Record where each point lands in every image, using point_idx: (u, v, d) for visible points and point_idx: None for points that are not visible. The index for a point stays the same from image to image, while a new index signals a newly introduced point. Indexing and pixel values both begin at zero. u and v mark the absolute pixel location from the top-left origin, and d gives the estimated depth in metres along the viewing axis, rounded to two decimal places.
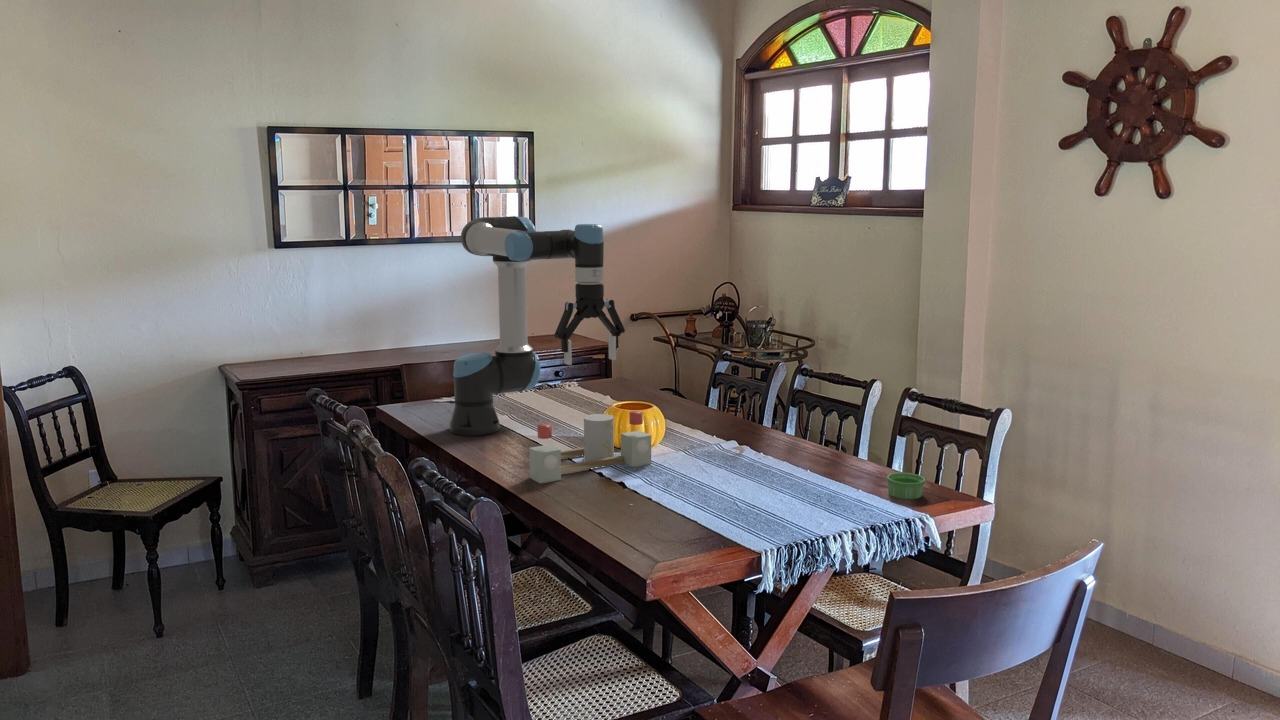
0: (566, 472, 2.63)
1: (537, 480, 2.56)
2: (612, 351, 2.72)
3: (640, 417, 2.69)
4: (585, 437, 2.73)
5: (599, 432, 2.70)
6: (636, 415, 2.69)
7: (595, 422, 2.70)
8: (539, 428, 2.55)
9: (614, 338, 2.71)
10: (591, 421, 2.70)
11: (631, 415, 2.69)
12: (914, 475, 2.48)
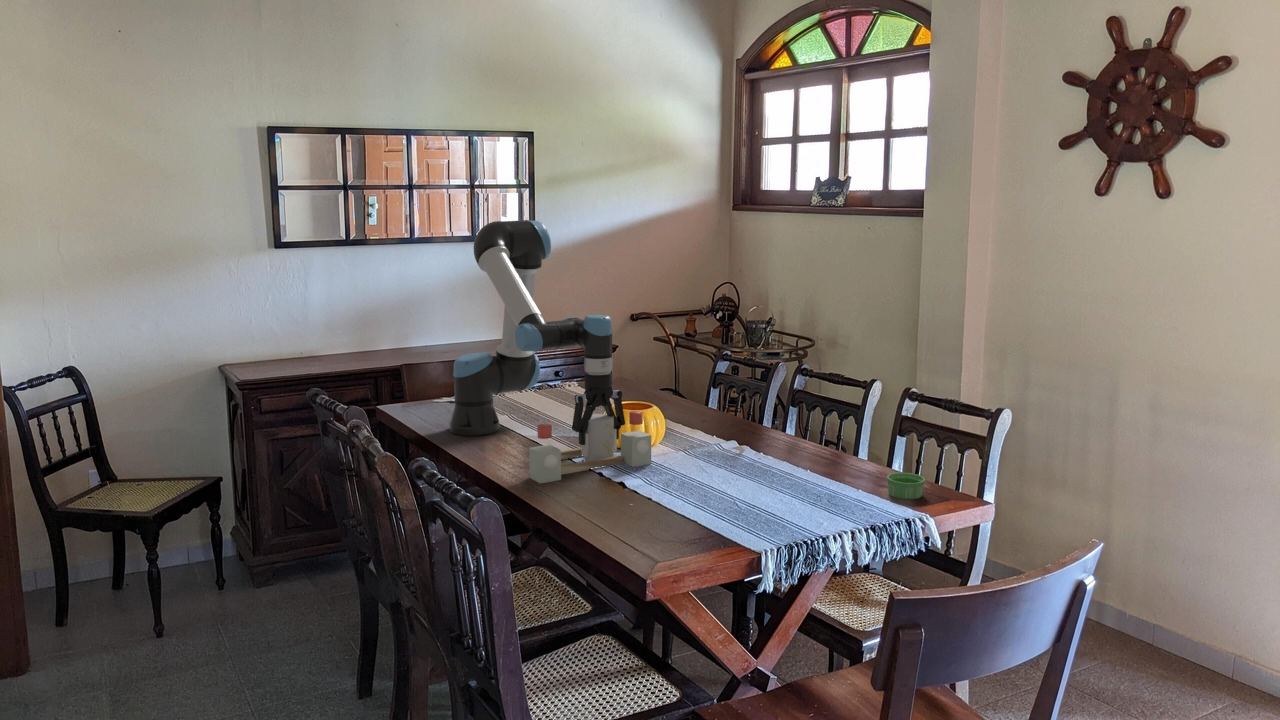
0: (566, 472, 2.63)
1: (537, 480, 2.56)
2: None
3: (640, 417, 2.69)
4: None
5: (599, 432, 2.70)
6: (636, 415, 2.69)
7: (595, 422, 2.70)
8: (539, 428, 2.55)
9: (615, 431, 2.76)
10: (591, 421, 2.70)
11: (631, 415, 2.69)
12: (914, 475, 2.48)
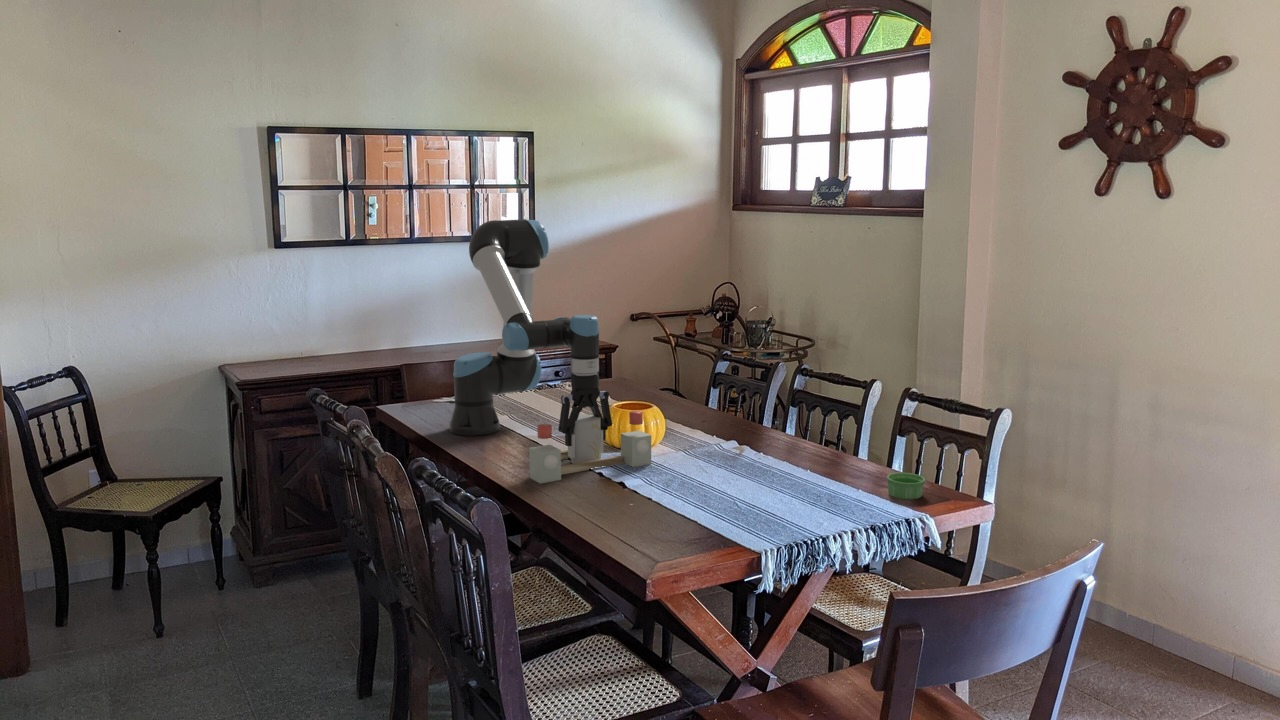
0: (566, 472, 2.63)
1: (537, 480, 2.56)
2: None
3: (640, 417, 2.69)
4: None
5: (586, 433, 2.68)
6: (636, 415, 2.69)
7: (582, 423, 2.68)
8: (539, 428, 2.55)
9: (601, 432, 2.74)
10: (578, 422, 2.68)
11: (631, 415, 2.69)
12: (914, 475, 2.48)
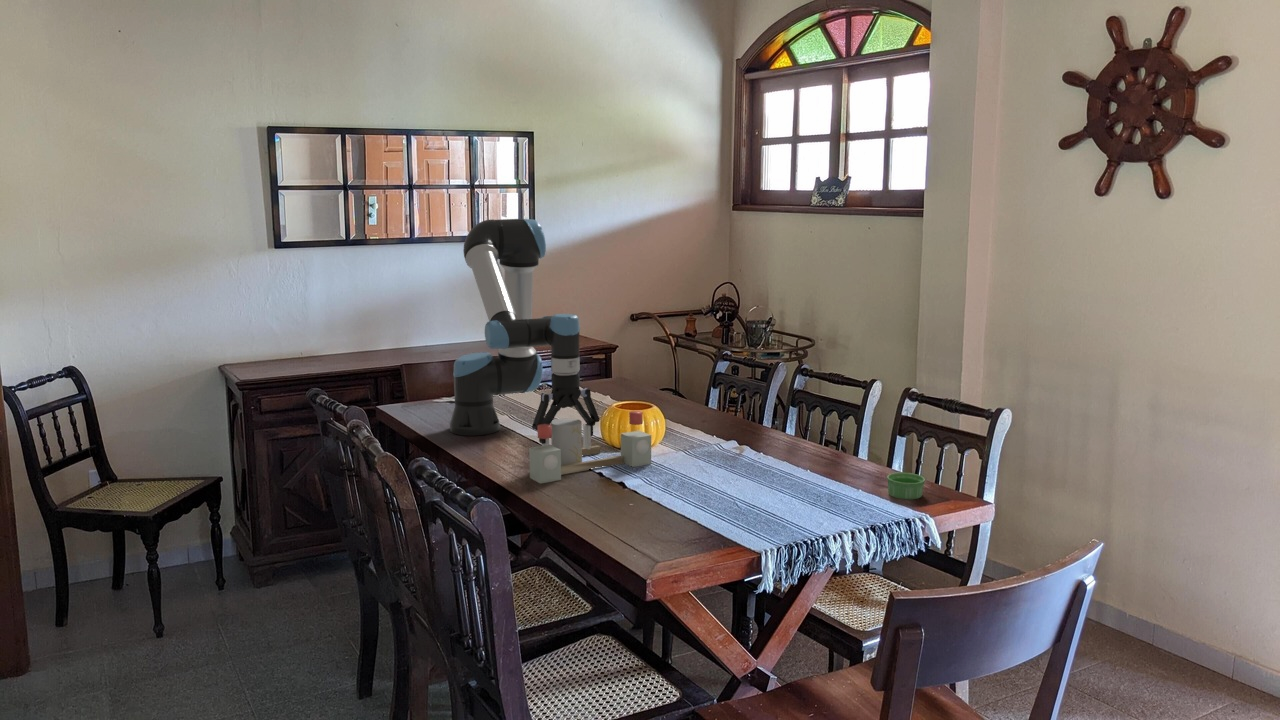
0: (566, 472, 2.63)
1: (537, 480, 2.56)
2: (587, 440, 2.72)
3: (640, 417, 2.69)
4: (552, 442, 2.68)
5: (566, 437, 2.65)
6: (636, 415, 2.69)
7: (562, 427, 2.65)
8: (539, 428, 2.55)
9: (589, 428, 2.71)
10: (558, 426, 2.65)
11: (631, 415, 2.69)
12: (914, 475, 2.48)
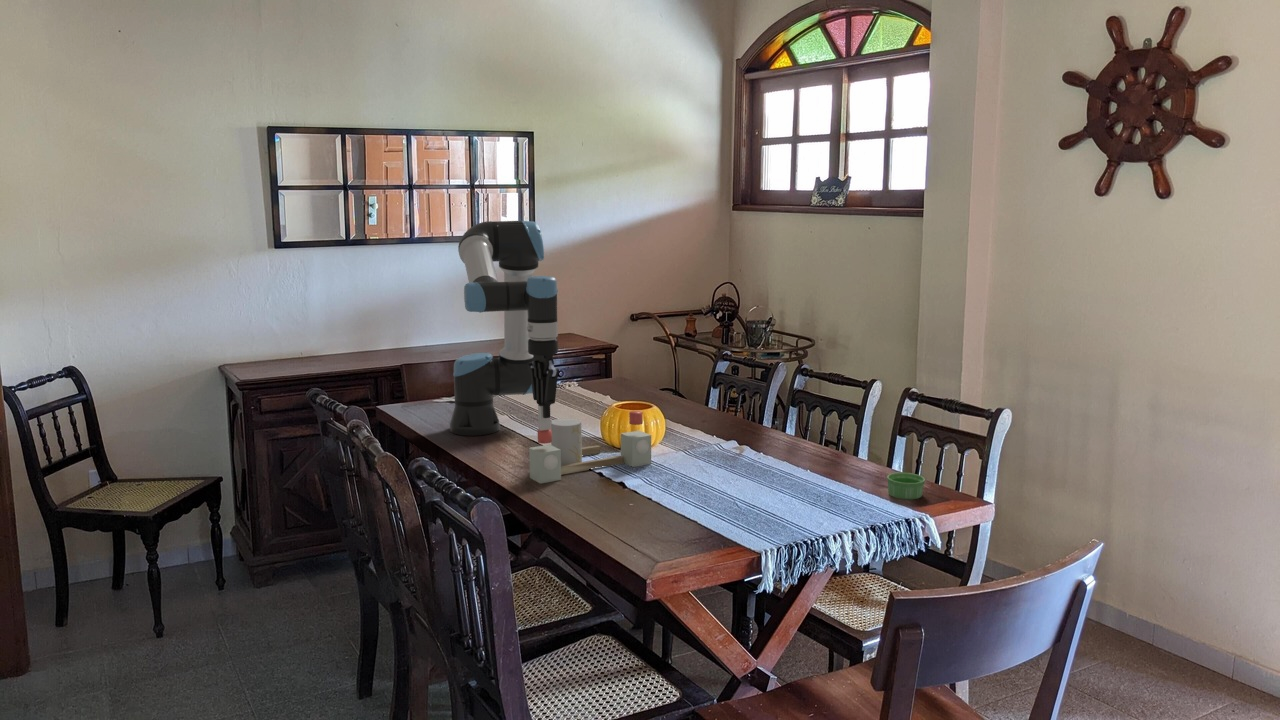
0: (566, 472, 2.63)
1: (537, 480, 2.56)
2: None
3: (640, 417, 2.69)
4: (552, 442, 2.68)
5: (566, 437, 2.65)
6: (636, 415, 2.69)
7: (562, 427, 2.65)
8: (539, 433, 2.55)
9: (539, 407, 2.54)
10: (558, 426, 2.65)
11: (631, 415, 2.69)
12: (914, 475, 2.48)
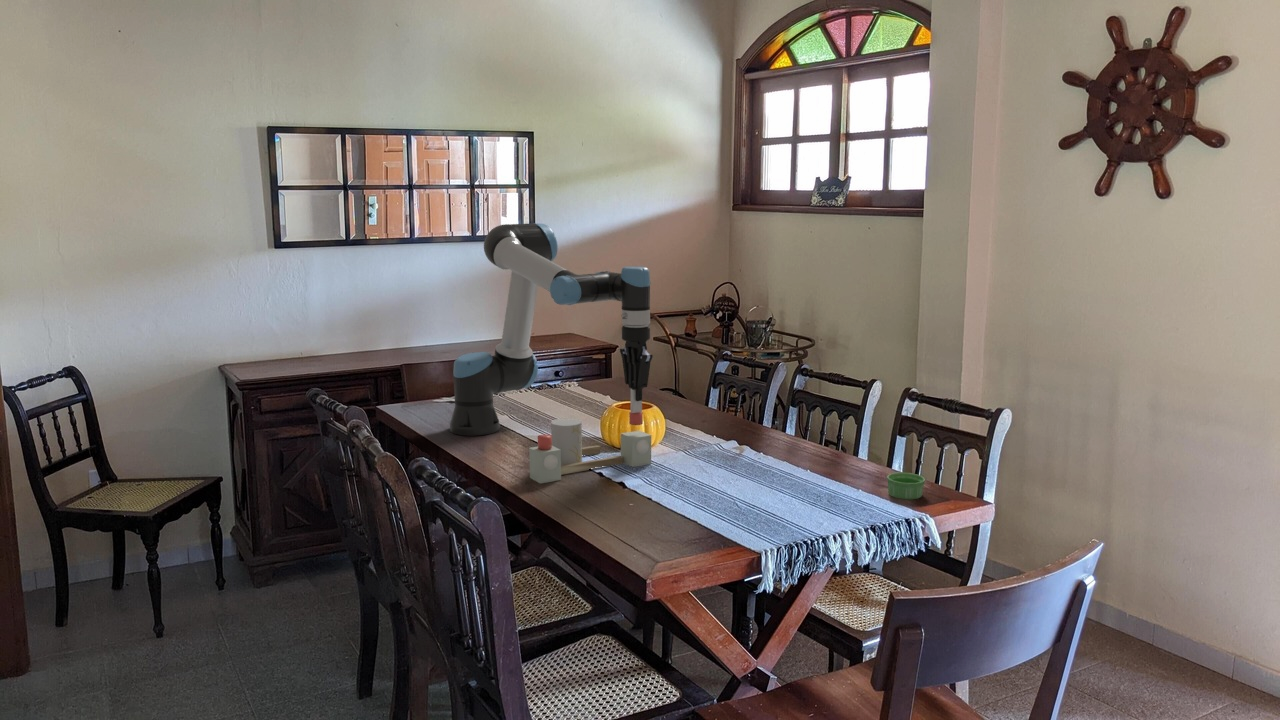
0: (566, 472, 2.63)
1: (537, 480, 2.56)
2: None
3: (640, 417, 2.69)
4: (552, 442, 2.68)
5: (566, 437, 2.65)
6: (636, 415, 2.69)
7: (562, 427, 2.65)
8: (539, 439, 2.55)
9: (632, 391, 2.68)
10: (558, 426, 2.65)
11: (631, 415, 2.69)
12: (914, 475, 2.48)
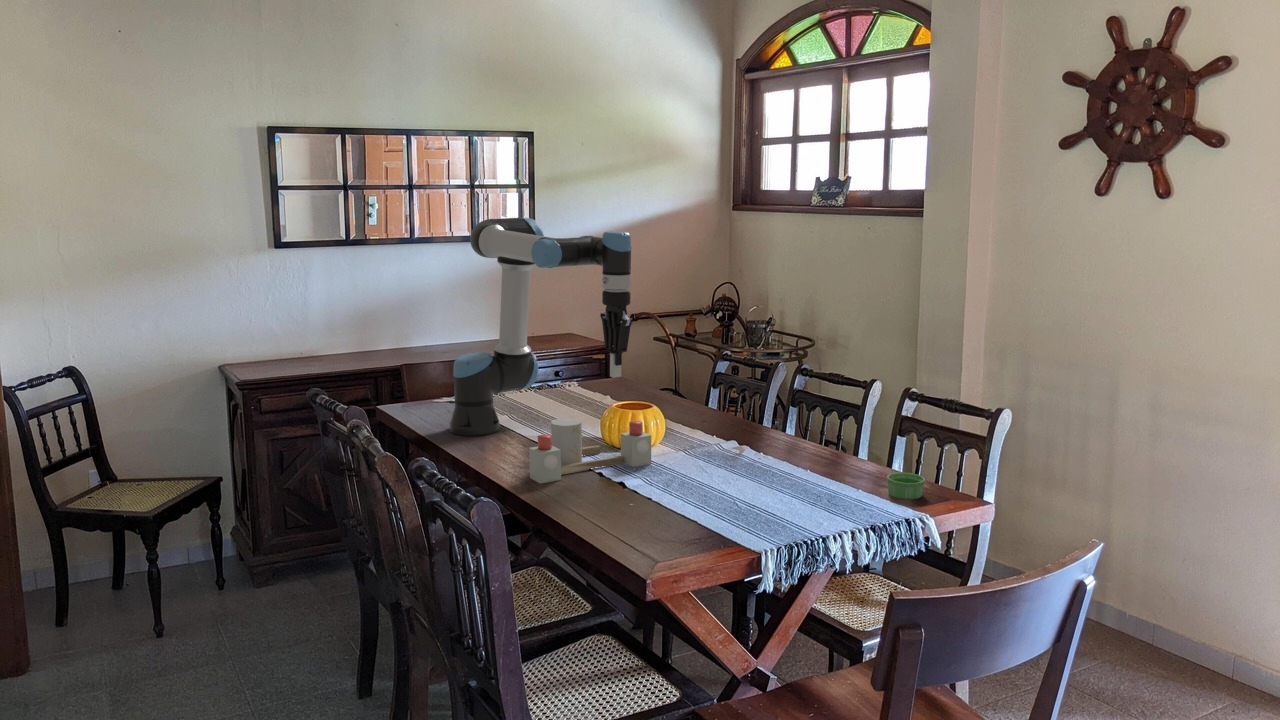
0: (566, 472, 2.63)
1: (537, 480, 2.56)
2: None
3: (640, 427, 2.70)
4: (552, 442, 2.68)
5: (566, 437, 2.65)
6: (636, 425, 2.69)
7: (562, 427, 2.65)
8: (539, 439, 2.55)
9: (612, 355, 2.70)
10: (558, 426, 2.65)
11: (631, 425, 2.70)
12: (914, 475, 2.48)
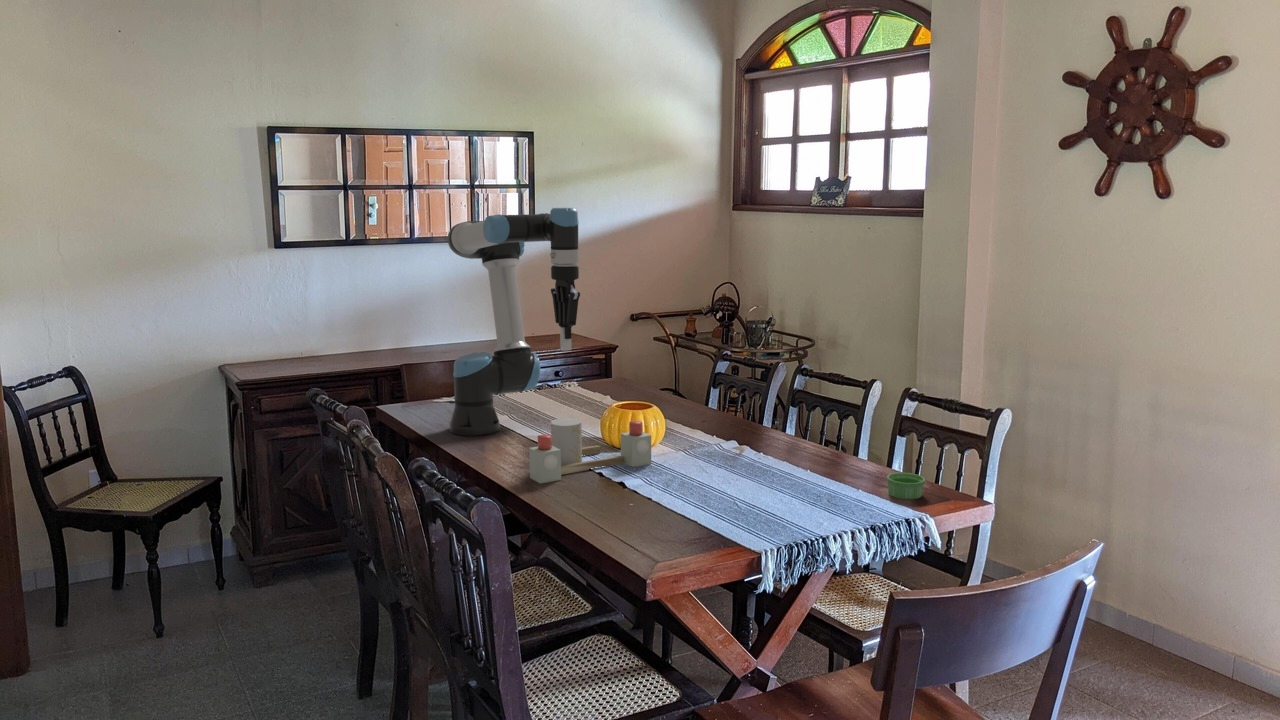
0: (566, 472, 2.63)
1: (537, 480, 2.56)
2: None
3: (640, 427, 2.70)
4: (552, 442, 2.68)
5: (566, 437, 2.65)
6: (636, 425, 2.69)
7: (562, 427, 2.65)
8: (539, 439, 2.55)
9: (561, 329, 2.76)
10: (558, 426, 2.65)
11: (631, 425, 2.70)
12: (914, 475, 2.48)
